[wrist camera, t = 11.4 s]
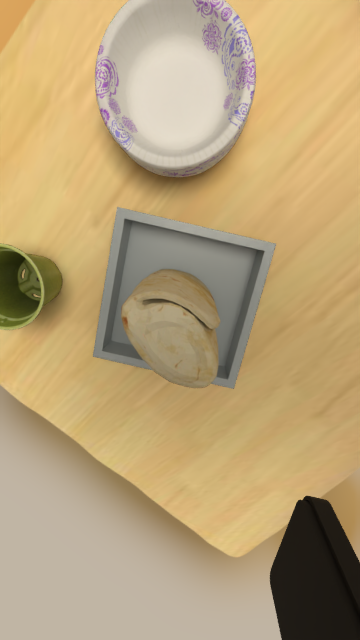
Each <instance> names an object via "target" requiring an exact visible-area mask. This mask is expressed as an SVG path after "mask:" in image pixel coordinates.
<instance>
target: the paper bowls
mask: <svg viewBox="0 0 360 640" xmlns="http://www.w3.org/2000/svg"><path fill="white" fill-rule="evenodd" d="M255 84H256V65H255V57H254V51H253V47H252V43H251V40H250V37H249V35H248V32H247V30H246V28H245V26H244V24H243V22H242V21H241V19H240V18H239V16H238V15H237V13H236V12H235V11H234V9H233V8H232V7H231V6H230V5H229V4H228V3H227V2H226V1H225V0H129V1H128V2H127V3H125V4H124V5H123V6H122V7H121V9H120V10H119V11H118V12H117V14H116V15H115V16H114V18H113V19H112V21H111V22H110V24H109V26H108V28H107V29H106V31H105V34H104V36H103V39H102V42H101V44H100V48H99V51H98V56H97V61H96V69H95V86H96V96H97V102H98V106H99V110H100V112H101V115H102V118H103V120H104V122H105V125H106V126H107V128H108V130H109V132H110V133H111V135H112V136H113V138H114V139H115V141H116V142H117V143H118V144H119V145H120V146H121V148H122V149H123V150H124V151H125V152H126V153H127V154H128V155H129V156H130V157H131V158H132V159H133V160H134V161H135V162H136V163H138V164H139V165H140V166H142V167H143V168H145V169H146V170H148V171H150V172H153V173H155V174H158V175H162V176H167V177H187V176H193V175H197V174H200V173H202V172H204V171H206V170H207V169H209V168H211V167H212V166H214V165H215V164H216V163H218V162H219V161H220V160H221V159H222V158H223V157H224V156H225V155H226V154H227V153H228V152H229V151H230V149H231V148H232V147H233V145H234V144H235V142H236V141H237V139H238V137H239V136H240V134H241V132H242V130H243V127H244V125H245V122H246V120H247V117H248V114H249V111H250V108H251V105H252V101H253V97H254V92H255Z"/></svg>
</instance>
